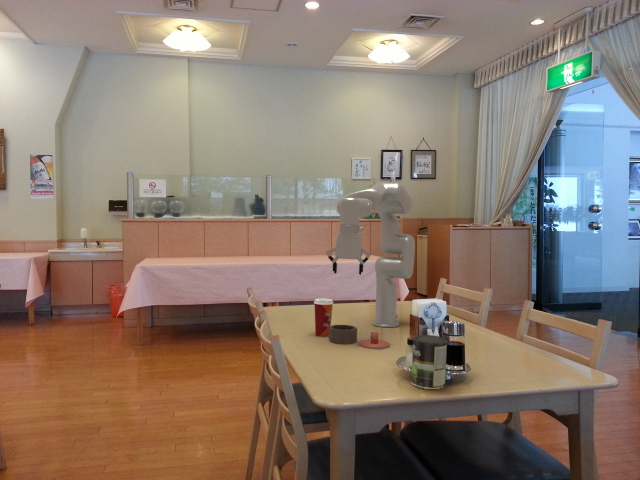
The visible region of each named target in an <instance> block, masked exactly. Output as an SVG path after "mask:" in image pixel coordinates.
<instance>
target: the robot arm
mask: <svg viewBox="0 0 640 480" xmlns="http://www.w3.org/2000/svg"><path fill="white" fill-rule="evenodd" d="M412 208H413V201H412V198H411V196H410V194H409V192H408V190H407V189H406V187H405V186H404V185H403V184H402V183H400V182H396V181H395V182H391V181H389V182H387V181H386V182H385V181H383V182H382V181H381V182H376V183H374V184H373V185H372V186H370V187H368V188H367V189H364V190H359V191H356V192H352V193H348V194H346V195H344V196H342V197H341V198H340V199H339V200H338V202H337V204H336V210H337V211H336V212H337V213H338V215H339V232H337V236H336V240H335V241H336V242H335V247H333V248H330V249H329V250H326V252H325V253H326V255H327V257H328V259H329V260H330V261H331V264H332V272H333V274H335V275H336V274H337V273H338V263H337V261H338V260H339V259H340V260H341V259H342V260H345V259H346V260H358V262H359V265H358V266H359V267H358V275H362V273H363V272H364V265H365V263H366V262H367V261H368V260H369V258H370V257H371V254H372V253H371V252H369V251H367V250H366V249H364V248H363V247H362V246H363V243H362V242H363V241H362V233H360V232H361V231H364V229H363V228H364V227H362V226H360V218H368V217H370V216H371V214H372V213H373V211H374V209H375V210H376V212H377V213H378V216H379V218H380V222H381V228H380V241H379V242H380V243H379V247H380V251H381V252H382V253H383V254H387V255H400V256H402V257H396V256H380V257H378V258H377V259H376V261H375V262H374V271H375V278H376V279H375V280H376V282H375V283H376V284H375V285H376V289H375V291H376V292H375V319H374V320H372V321H371V325H373V326H374V327H375V326H376V327H379V328H397V327H399V326H400V322H399V321H397V318H399V314H397V307H398V306H397V302H398V301H397V299H398V287H397V284H396V282H395V280H394V279H400V280H401V279H403V280H404V279H405V280H407V279H410V278H411V277H412V276H413V273H414V265H415V253H416V251H415V250H416V249H415V247H416V242H415V239H414V237H413V236H412V235H411V234H408V233H400V232H401V228H400V227H401V222H400V220H399V218H398V216H397V215H398V214H399V215H406V214H409V213H410V212H411V211H412ZM333 252H334V256H335V257H333V256H332V253H333ZM363 254H364V255H366V256H365V258H362V255H363Z"/></svg>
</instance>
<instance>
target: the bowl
mask: <svg viewBox="0 0 640 480" xmlns="http://www.w3.org/2000/svg"><path fill="white" fill-rule="evenodd" d="M328 340H329V342H330V343H332V344H334V345H335V344H337V345H351V344H355V343H356V342H357V341H358V327H356V326H354V325H350V324H334V325H331V326H329V336H328Z"/></svg>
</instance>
